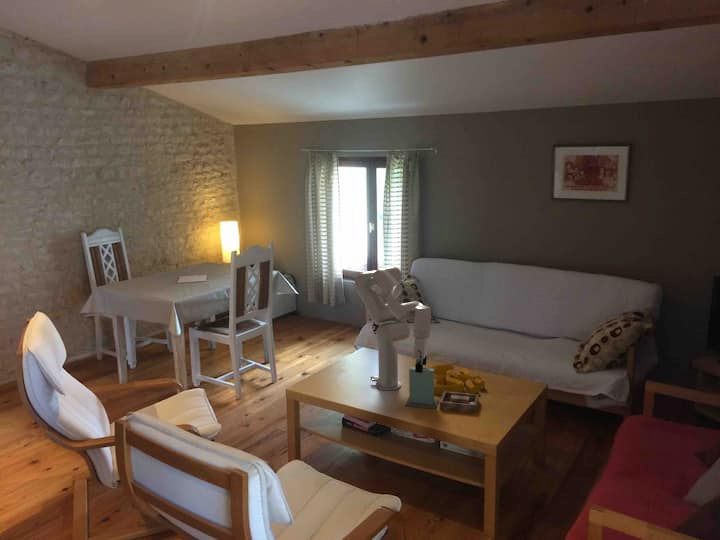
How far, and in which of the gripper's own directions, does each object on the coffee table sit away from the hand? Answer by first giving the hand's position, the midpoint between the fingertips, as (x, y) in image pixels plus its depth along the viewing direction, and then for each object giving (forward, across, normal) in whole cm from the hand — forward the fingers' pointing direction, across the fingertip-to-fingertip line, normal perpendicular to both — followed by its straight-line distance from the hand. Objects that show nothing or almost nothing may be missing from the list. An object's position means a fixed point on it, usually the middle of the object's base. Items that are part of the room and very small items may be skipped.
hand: (420, 368), depth 280 cm
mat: (+17, +1, +1) cm, 17 cm away
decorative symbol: (+18, -26, +12) cm, 34 cm away
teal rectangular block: (+16, +1, +1) cm, 16 cm away
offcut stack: (+16, +1, +20) cm, 26 cm away
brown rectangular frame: (+16, 0, +18) cm, 24 cm away
